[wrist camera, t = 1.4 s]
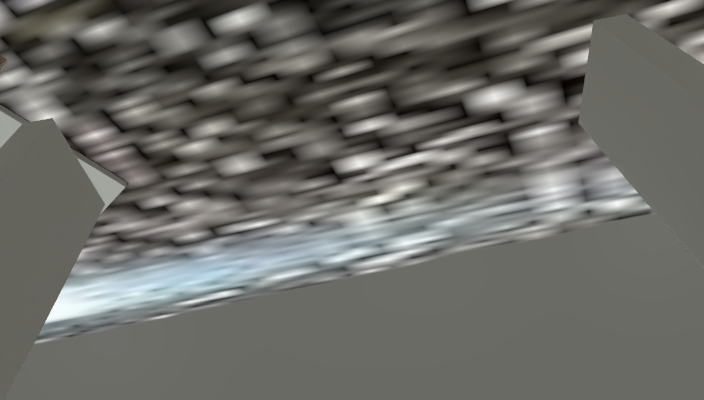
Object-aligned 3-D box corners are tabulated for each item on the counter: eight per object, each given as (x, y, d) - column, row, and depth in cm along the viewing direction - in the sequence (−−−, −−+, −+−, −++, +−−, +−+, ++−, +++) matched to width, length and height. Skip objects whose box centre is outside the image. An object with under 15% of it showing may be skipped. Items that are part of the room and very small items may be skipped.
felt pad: (-78, 200, 41) (-83, 205, 41) (-9, 98, 36) (-14, 102, 36) (52, 264, 46) (49, 268, 46) (127, 182, 41) (125, 187, 41)
